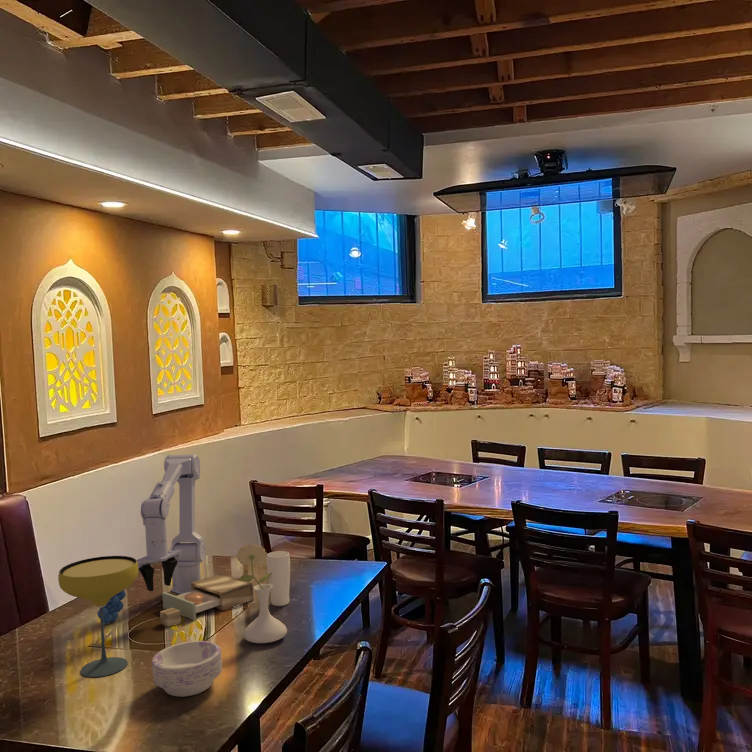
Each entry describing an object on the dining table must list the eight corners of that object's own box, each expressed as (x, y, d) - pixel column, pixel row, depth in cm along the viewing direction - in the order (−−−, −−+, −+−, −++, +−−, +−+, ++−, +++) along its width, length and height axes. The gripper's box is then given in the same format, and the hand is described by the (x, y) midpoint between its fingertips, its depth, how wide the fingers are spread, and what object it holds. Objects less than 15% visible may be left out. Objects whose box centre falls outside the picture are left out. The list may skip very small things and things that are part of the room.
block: (160, 623, 204) (160, 611, 204) (173, 619, 207) (172, 607, 207) (168, 627, 201) (167, 614, 201) (180, 622, 204) (180, 610, 204)
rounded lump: (181, 602, 215) (180, 596, 214) (196, 597, 219) (196, 591, 219) (191, 606, 211) (191, 600, 211) (207, 601, 215) (206, 595, 215)
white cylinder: (281, 598, 221) (278, 549, 221) (296, 602, 217) (294, 552, 216) (264, 604, 216) (261, 555, 215) (279, 609, 212) (277, 558, 211)
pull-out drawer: (163, 607, 216) (162, 592, 216) (193, 598, 224) (192, 583, 224) (193, 620, 205) (192, 604, 205) (224, 609, 213) (223, 594, 213)
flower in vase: (294, 631, 194) (289, 539, 193) (276, 649, 183) (272, 551, 182) (249, 628, 197) (244, 537, 197) (230, 645, 186) (225, 549, 186)
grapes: (111, 613, 214) (109, 573, 214) (132, 614, 212) (129, 574, 212) (86, 628, 203) (84, 586, 203) (107, 629, 201) (105, 587, 201)
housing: (191, 599, 224) (191, 582, 223) (221, 589, 232) (220, 573, 231) (223, 610, 212) (222, 593, 212) (253, 600, 220) (252, 583, 220)
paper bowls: (141, 689, 164) (139, 655, 163) (200, 667, 174) (198, 634, 174) (175, 711, 153) (173, 674, 153) (236, 685, 163) (234, 651, 163)
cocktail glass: (48, 684, 168) (42, 577, 168) (89, 651, 186) (83, 555, 186) (121, 685, 166) (115, 577, 165) (155, 652, 184) (150, 555, 183)
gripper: (140, 548, 198) (142, 597, 198) (186, 536, 209) (189, 583, 209) (127, 544, 203) (130, 592, 203) (173, 533, 213) (175, 579, 214)
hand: (159, 587), depth 206 cm, fingers open, 5 cm apart
